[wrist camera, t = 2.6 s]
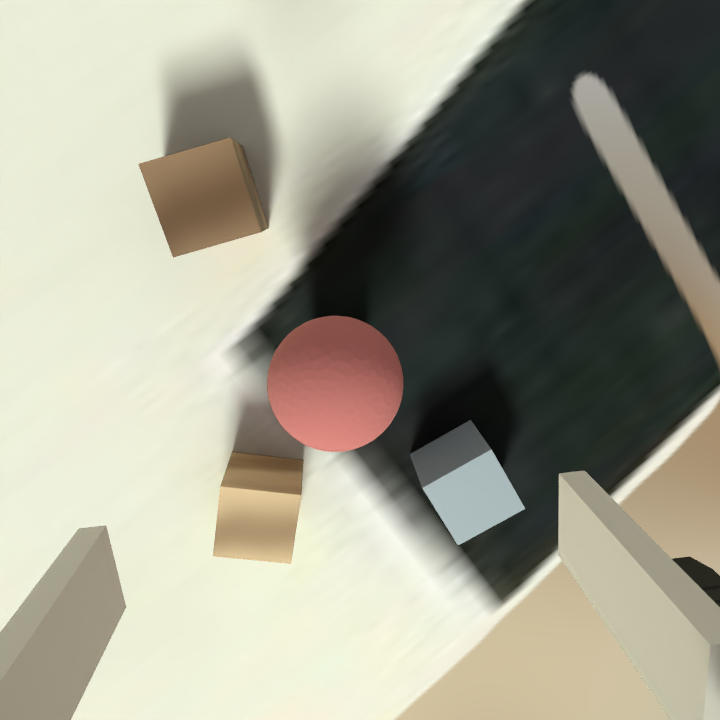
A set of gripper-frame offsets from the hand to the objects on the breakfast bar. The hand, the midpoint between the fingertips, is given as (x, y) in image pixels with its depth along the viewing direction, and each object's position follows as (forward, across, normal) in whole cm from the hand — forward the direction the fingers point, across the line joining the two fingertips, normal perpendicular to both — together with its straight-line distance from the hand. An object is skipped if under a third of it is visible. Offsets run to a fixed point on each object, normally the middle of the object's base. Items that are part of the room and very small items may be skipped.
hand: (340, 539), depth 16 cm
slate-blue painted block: (+22, +8, -10) cm, 26 cm away
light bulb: (+22, 0, 0) cm, 23 cm away
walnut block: (+22, -6, +10) cm, 25 cm away
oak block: (+22, -6, -10) cm, 25 cm away
